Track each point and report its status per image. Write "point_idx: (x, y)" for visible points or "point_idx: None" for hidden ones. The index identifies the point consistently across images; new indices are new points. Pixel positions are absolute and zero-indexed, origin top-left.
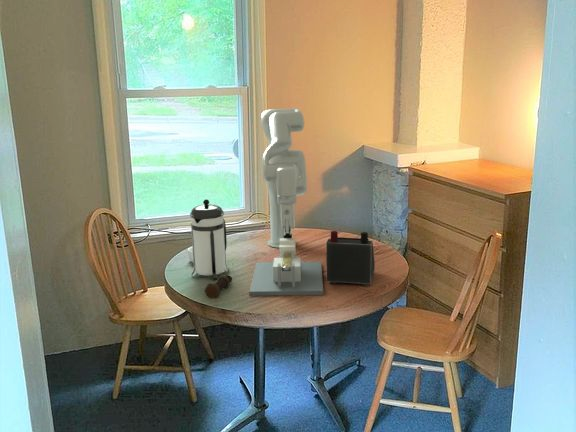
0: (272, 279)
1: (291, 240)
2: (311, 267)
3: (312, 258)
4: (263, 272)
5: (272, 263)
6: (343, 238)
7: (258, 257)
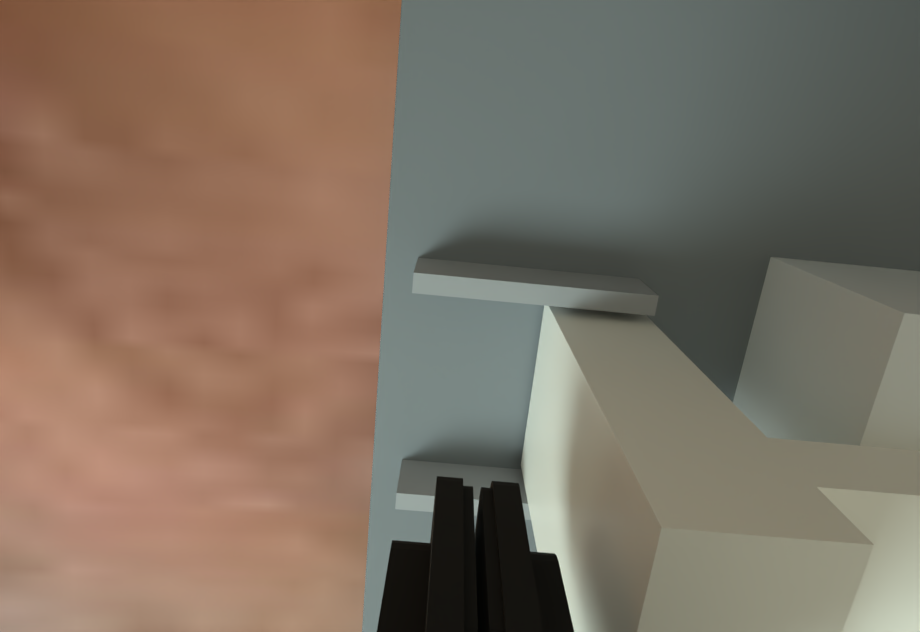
0: None
1: (842, 624)
2: (636, 99)
3: (126, 29)
4: None
5: (414, 535)
6: None
7: (111, 620)
